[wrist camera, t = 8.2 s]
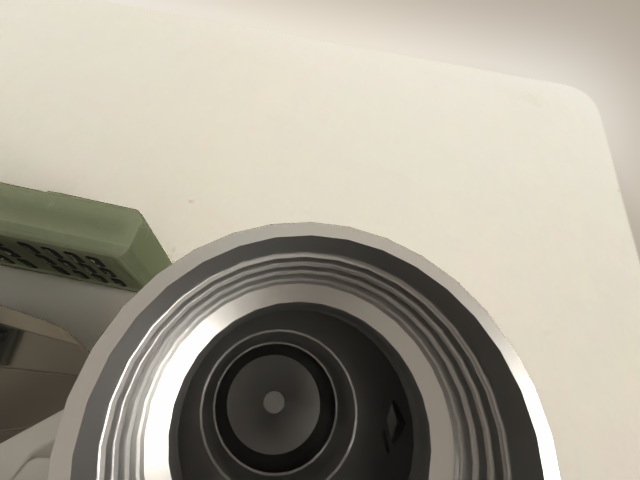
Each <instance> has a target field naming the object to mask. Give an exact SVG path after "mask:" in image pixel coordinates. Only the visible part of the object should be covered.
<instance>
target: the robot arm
mask: <svg viewBox="0 0 640 480" xmlns="http://www.w3.org/2000/svg"><path fill="white" fill-rule="evenodd" d="M384 406H385V402H384V404H383V408H384ZM63 411H64V409H63V410H61V411H60V412H58V413H56V414H54V415H52V416H50V417H48V418H47V419H45V420H43V421H41V422H39V423H37V424H36V425H34V426H32V427H30V428H28V429H26V430H24V431H23V432H21V433H19V434H17V435H15V436H13V437H12V438H10V439H8V440H6V441H4V442H2V443H0V480H48V474H49V465H50V456H51V453H52V449H53V446H54V442H55V439H56V435H57V432H58V429H59V425H60V422H61V418H62V415H63ZM386 421H387V425H388V429H389V433H390V437H391V441H392V443H393V445H395V443H396V442H397V440H398V438H399V437H400V435H401V434H402V431H403V429H404V426H405V424H406V422H405V420H404V418H403V416H402V413H401V411H400V409H399V407H398V406H397V404H396V402H395V401H394V399H393V401H392V403H391V406H390V410H389V413H388V416H387V419H386ZM381 437H382V441H383V445H384V450H385V453H386V455H388V454H389V453H390V451H389V447H388V442H387V438H386V433H385V429H384V430H383V433H382V436H381Z"/></svg>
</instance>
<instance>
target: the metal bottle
mask: <svg viewBox="0 0 640 480" xmlns="http://www.w3.org/2000/svg"><path fill="white" fill-rule="evenodd" d="M393 399H394V401H395V402H396V404H397V406H398V407H399V409H400V411H401V413H402V416H403V418H404V420H405V422H406V424H405V426H404V429H403V431H402V434H401V435H400V437H399V438H398V440H397V442H396V443H395V445H393V443H392V441H391V437H390V433H389V429H388V425H387V421H386V419H387V416H388V413H389V410H390V406H391V403H392V401H393ZM384 402H385V406H384V408H383V404H384ZM384 429H385V433H386V438H387V442H388V447H389V451H390V453H389V454H388V455H386V453H385V450H384V445H383V441H382V437H381V436H382V433H383V430H384ZM48 480H560V475H559V470H558V464H557V459H556V454H555V449H554V444H553V439H552V434H551V431H550V429H549V426H548V423H547V420H546V417H545V415H544V412H543V409H542V406H541V403H540V401H539V398H538V395H537V392H536V389H535V387H534V385H533V383H532V381H531V379H530V377H529V376H528V374H527V372H526V370H525V368H524V366H523V364H522V363H521V361H520V359H519V357H518V355H517V353H516V351H515V349H514V348H513V346H512V344H511V343H510V342H509V340H508V339H507V338H506V336H505V335H504V334H503V332H502V331H501V330H500V328H499V327H498V326H497V324H496V323H495V322H494V320H493V319H492V318H491V316H490V315H489V314H488V312H487V311H486V310H485V308H484V307H482V306H481V305H480V304H479V303H478V302H477V301H476V300H475V299H474V298H473V297H472V296H471V295H470V294H469V293H468V292H467V291H466V290H465V289H464V288H463V287H462V286H461V285H460V284H459V283H458V282H457V281H456V280H455V279H454V278H452V277H451V276H449V275H448V274H447V273H445V272H444V271H442V270H441V269H440V268H438V267H437V266H435V265H434V264H433V263H431V262H430V261H428V260H427V259H426V258H424V257H423V256H421V255H419V254H417V253H415V252H413V251H411V250H409V249H407V248H405V247H403V246H401V245H399V244H397V243H395V242H393V241H391V240H389V239H387V238H384V237H381V236H378V235H374V234H371V233H368V232H364V231H361V230H358V229H354V228H351V227H346V226H338V225H330V224H322V223H314V222H304V223H284V224H270V225H266V226H262V227H257V228H253V229H249V230H244V231H240V232H236V233H232V234H230V235H227V236H225V237H223V238H220V239H218V240H216V241H213V242H211V243H209V244H206V245H204V246H202V247H199V248H197V249H195V250H193V251H192V252H190V253H189V254H187V255H186V256H184V257H183V258H181V259H180V260H178V261H176V262H175V263H173V264H172V265H170V266H169V267H167V268H166V269H164V270H163V271H161V272H160V273H158V274H157V275H156V276H155V277H154V278H153V279H152V280H151V281H150V282H149V283H147V284H146V285H145V286H144V287H143V288H142V289H141V290H140V291H139V292H138V293H137V294H136V295H135V296H134V297H133V298H132V299H131V300H130V301H129V302H127V303H126V304H125V305H124V306H123V307H122V309H121V310H120V311H119V313H118V314H117V315H116V317H115V318H114V319H113V321H112V322H111V324H110V325H109V326H108V328H107V329H106V330H105V332H104V333H103V334H102V336H101V337H100V338H99V340H98V341H97V343H96V344H95V345H94V347H93V348H92V350H91V352H90V354H89V356H88V358H87V360H86V362H85V364H84V366H83V368H82V370H81V372H80V374H79V376H78V378H77V380H76V382H75V384H74V386H73V388H72V390H71V392H70V394H69V396H68V398H67V401H66V405H65V408H64V411H63V415H62V418H61V422H60V425H59V429H58V432H57V435H56V439H55V442H54V446H53V449H52V453H51V456H50V465H49V474H48Z"/></svg>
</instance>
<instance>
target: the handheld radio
mask: <svg viewBox="0 0 640 480" xmlns="http://www.w3.org/2000/svg"><path fill="white" fill-rule="evenodd" d="M0 264H3V265H8V266H13V267H18V268H23V269H28V270H33V271H38V272H43V273H48V274H53V275H58V276H63V277H68V278H73V279H78V280H83V281H88V282H93V283H98V284H103V285H108V286H113V287H118V288H123V289H128V290H133V291H138V292H139V291H140V290H141V289H142V288H143V287H144V286H145V285H146V284H147V283H149V282H150V281H151V280H152V279H153V278H154V277H155V276H156V275H157V274H158V273H160V272H161V271H163V270H164V269H166V268H167V267H169V266H170V265H172V263H171V261H170V259H169V258H168V256H167V254H166V253H165V251H164V250H163V248H162V246H161V245H160V243H159V241H158V240H157V238H156V237H155V235H154V233H153V232H152V230H151V229H150V227H149V225H148V224H147V222H146V220H145V219H144V217H143V216H142V214H140V212H139V211H138V210H136V209H131V208H127V207H122V206H117V205H113V204H108V203H104V202H99V201H94V200H90V199H85V198H81V197H76V196H71V195H67V194H62V193H57V192H50V191H48V192H42V191H38V190H33V189H28V188H24V187H19V186H15V185H10V184H5V183H1V182H0Z"/></svg>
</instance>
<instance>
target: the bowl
mask: <svg viewBox="0 0 640 480" xmlns="http://www.w3.org/2000/svg"><path fill="white" fill-rule="evenodd" d="M88 356H89V353H88V352H87V350H86V349H85V348H84V347H83V346H82V345H81V343H80V342H79V341H78V340H77V339H76V338H74V337H73V336H72V335H70V334H69V333H68V332H66V331H65V330H63V329H61V328H60V327H58V326H56V325H54V324H52V323H51V322H48V321H45V320H42V319H39V318H36V317H33V316H30V315H27V314H25V313H22V312H19V311H16V310H13V309H10V308H7V307H4V306H1V305H0V443H2V442H4V441H6V440H8V439H10V438H12V437H13V436H15V435H17V434H19V433H21V432H23V431H24V430H26V429H28V428H30V427H32V426H34V425H36V424H37V423H39V422H41V421H43V420H45V419H47V418H48V417H50V416H52V415H54V414H56V413H58V412H60V411H61V410H63V409H64V408H65V405H66V401H67V398H68V396H69V394H70V392H71V390H72V388H73V386H74V384H75V382H76V380H77V378H78V376H79V374H80V372H81V370H82V368H83V366H84V364H85V362H86V360H87V358H88Z"/></svg>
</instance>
